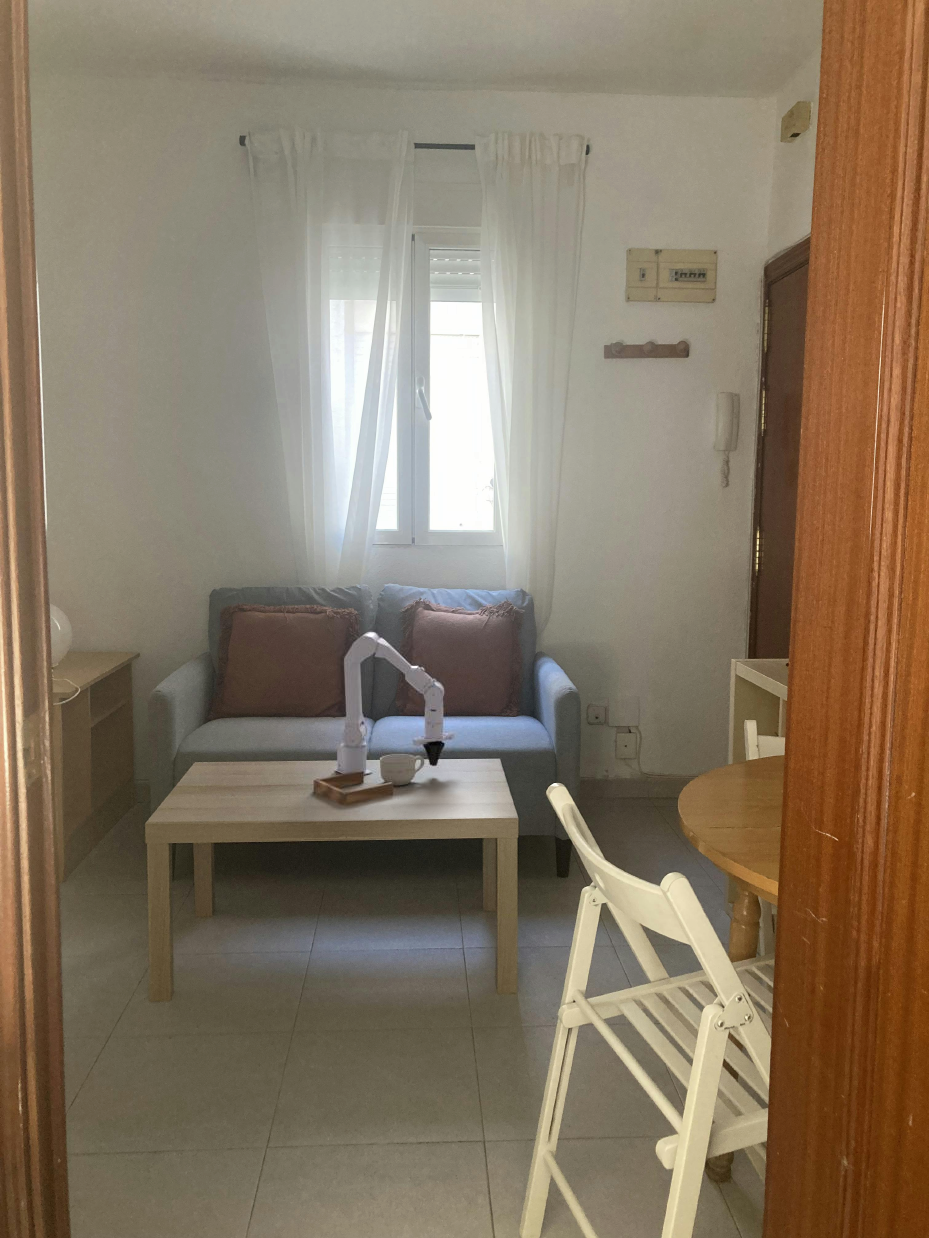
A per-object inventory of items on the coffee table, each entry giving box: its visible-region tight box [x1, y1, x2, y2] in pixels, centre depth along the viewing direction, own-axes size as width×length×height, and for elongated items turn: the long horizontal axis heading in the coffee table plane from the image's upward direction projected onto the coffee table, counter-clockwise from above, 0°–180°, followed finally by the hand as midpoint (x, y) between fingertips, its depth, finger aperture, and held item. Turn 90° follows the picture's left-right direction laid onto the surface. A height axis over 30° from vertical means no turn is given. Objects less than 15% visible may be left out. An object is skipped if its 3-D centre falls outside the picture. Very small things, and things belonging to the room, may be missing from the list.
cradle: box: [313, 770, 394, 807], centre depth 272 cm, size 16×17×4 cm
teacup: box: [379, 753, 425, 786], centre depth 283 cm, size 14×11×8 cm
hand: (433, 765), depth 291 cm, fingers closed
